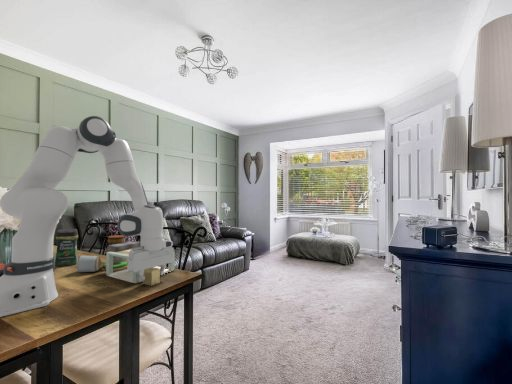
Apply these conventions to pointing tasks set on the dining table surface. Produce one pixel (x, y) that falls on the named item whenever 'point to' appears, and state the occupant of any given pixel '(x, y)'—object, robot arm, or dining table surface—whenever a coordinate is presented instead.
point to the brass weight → (152, 276)
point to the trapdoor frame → (125, 273)
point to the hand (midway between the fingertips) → (151, 277)
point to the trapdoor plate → (123, 247)
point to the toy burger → (118, 260)
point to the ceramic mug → (88, 263)
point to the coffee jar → (66, 247)
